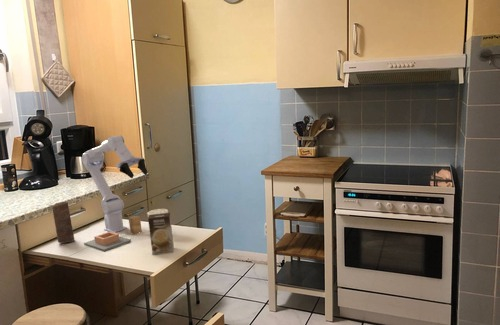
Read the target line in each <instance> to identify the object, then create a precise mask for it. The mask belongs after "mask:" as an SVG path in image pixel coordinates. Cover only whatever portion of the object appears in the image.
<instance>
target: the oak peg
mask: <svg viewBox="0 0 500 325" xmlns="http://www.w3.org/2000/svg"><path fill="white" fill-rule="evenodd" d="M141 221H142V220H141V216H139V215H133V216H130V217H128V224H129V232H130V234H132V235H138V234H140V233H143V230H142V224H141V223H142V222H141ZM139 232H140V233H139ZM137 233H138V234H137Z"/></svg>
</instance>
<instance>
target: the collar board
mask: <svg viewBox="0 0 500 325" xmlns="http://www.w3.org/2000/svg"><path fill="white" fill-rule="evenodd" d="M131 242H132V239H129V238H126V237H124V236H120V234H119V233H117V232H110V231H106V232H104V233H101V234H98V235H96V236H95V235H94V239H92V240H88V241H85V242H83V245H84V246H86V247H88V248H93V249H95V250H98V251H102V252H105V253H106V252H107V251H110V250H113V249H115V248H117V247H118V248H119V247H121V246H124V245H126V244H129V243H131Z"/></svg>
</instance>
